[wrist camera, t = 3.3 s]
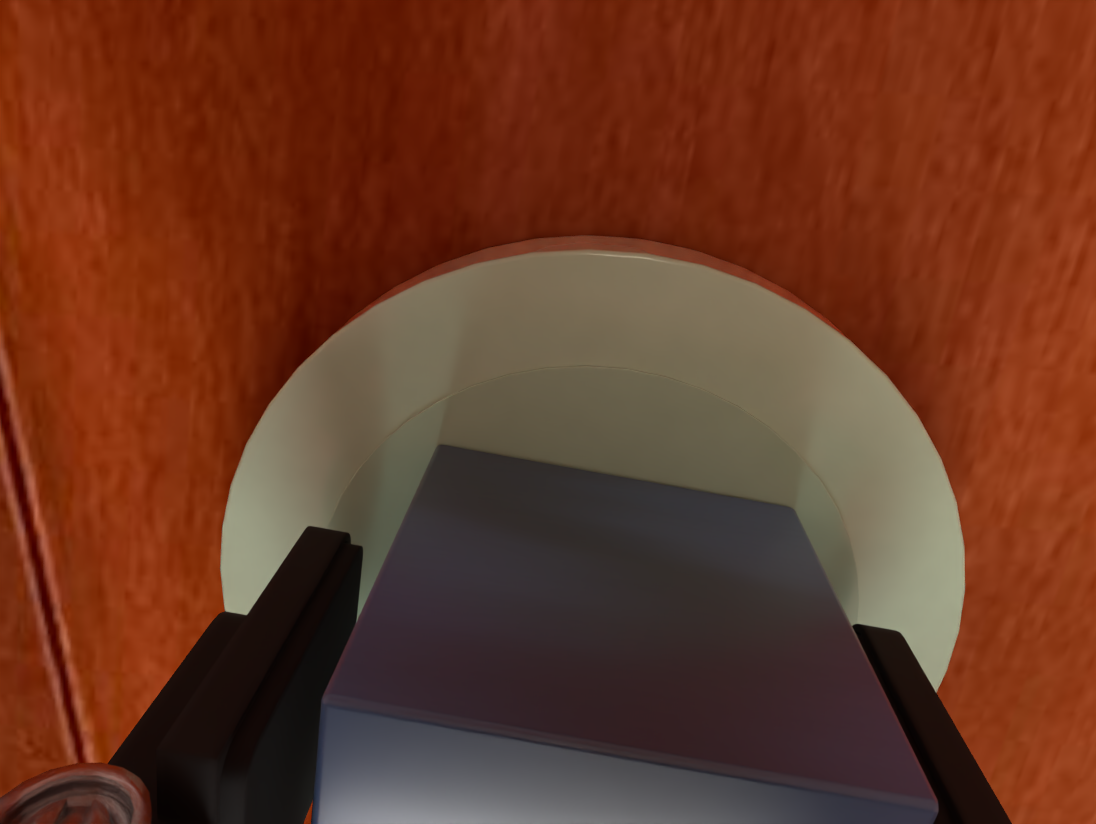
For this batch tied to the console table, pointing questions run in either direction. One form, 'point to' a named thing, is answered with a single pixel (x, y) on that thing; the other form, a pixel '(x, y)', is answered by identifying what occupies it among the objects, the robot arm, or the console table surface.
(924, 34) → the console table surface
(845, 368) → the plate
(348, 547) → the robot arm
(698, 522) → the block
